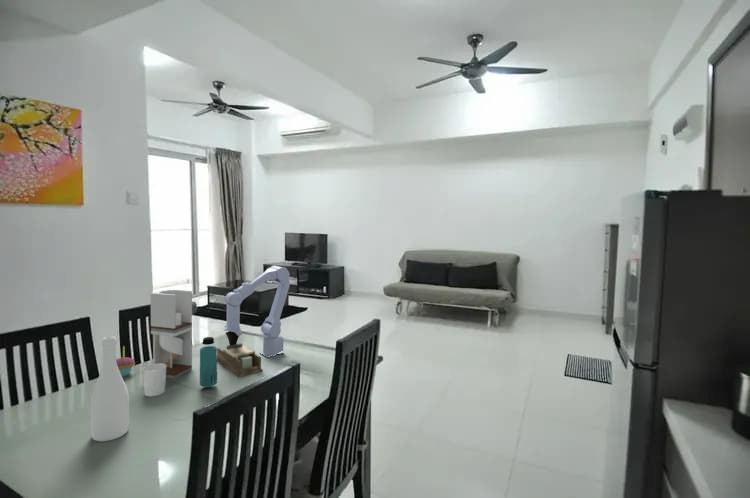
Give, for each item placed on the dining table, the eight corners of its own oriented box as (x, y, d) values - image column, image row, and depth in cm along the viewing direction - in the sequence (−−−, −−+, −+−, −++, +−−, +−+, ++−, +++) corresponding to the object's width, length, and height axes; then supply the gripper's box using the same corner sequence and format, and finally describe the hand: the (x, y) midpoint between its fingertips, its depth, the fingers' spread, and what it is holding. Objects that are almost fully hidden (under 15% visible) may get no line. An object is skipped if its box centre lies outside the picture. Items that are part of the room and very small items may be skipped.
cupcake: (113, 372, 166) (112, 344, 165) (136, 369, 170) (136, 342, 169) (109, 379, 158) (108, 350, 158) (133, 377, 162) (133, 348, 161)
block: (247, 365, 176) (247, 354, 176) (252, 368, 173) (252, 357, 173) (237, 367, 173) (237, 356, 173) (242, 370, 170) (242, 359, 170)
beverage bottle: (210, 391, 150) (211, 340, 149) (195, 389, 151) (195, 339, 150) (220, 385, 157) (221, 336, 155) (206, 383, 158) (206, 334, 157)
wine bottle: (122, 422, 126) (121, 331, 124) (133, 433, 120) (132, 337, 118) (87, 434, 118) (85, 337, 116) (97, 446, 112) (95, 344, 110)
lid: (244, 346, 184) (244, 342, 184) (255, 352, 176) (255, 348, 176) (223, 351, 177) (223, 346, 177) (233, 357, 169) (233, 352, 169)
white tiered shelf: (151, 375, 164) (150, 293, 162) (170, 366, 174) (169, 289, 172) (174, 378, 161) (173, 295, 159) (191, 369, 172) (192, 290, 169)
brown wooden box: (238, 356, 190) (238, 343, 190) (262, 370, 173) (262, 356, 172) (215, 361, 183) (215, 347, 182) (238, 377, 165) (238, 362, 165)
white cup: (170, 389, 152) (170, 364, 151) (157, 398, 144) (157, 371, 143) (151, 387, 152) (151, 362, 152) (137, 396, 144) (137, 370, 144)
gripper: (218, 316, 183) (218, 344, 184) (231, 322, 173) (231, 352, 174) (232, 314, 188) (232, 342, 189) (246, 320, 178) (246, 349, 178)
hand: (232, 347), depth 182 cm, fingers closed
